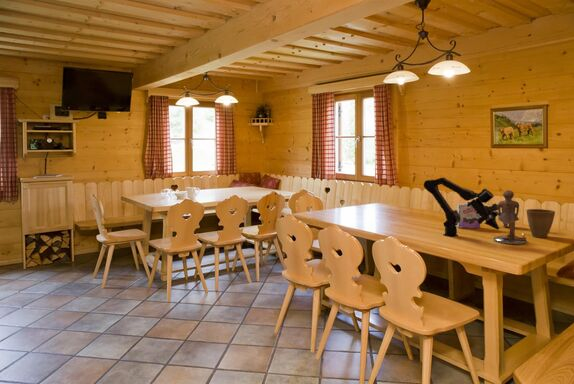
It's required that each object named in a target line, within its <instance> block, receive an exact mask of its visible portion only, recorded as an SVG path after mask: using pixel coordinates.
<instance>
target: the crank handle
mask: <svg viewBox="0 0 574 384" xmlns="http://www.w3.org/2000/svg"><path fill="white" fill-rule="evenodd" d="M515 234H516V221H510V227H509V234H502V235H500V236H501V238H502V239H506V240H510V241H514V240H518V239H520V240H527V237H526V236H525V237H523V236H518V235H515Z"/></svg>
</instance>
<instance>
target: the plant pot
mask: <svg viewBox="0 0 574 384" xmlns="http://www.w3.org/2000/svg"><path fill="white" fill-rule="evenodd" d="M555 214H556V211H555V210H551V209H544V208H543V209H540V208H539V209H538V208H531V209H526V216H527V222H528V227H529V230H530V233H531V235H532V237H534V238H539V239H544V238H547V237H548V235H549V233H550V231H551V228H552V225H553V222H554V219H555Z"/></svg>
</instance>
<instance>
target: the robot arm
mask: <svg viewBox="0 0 574 384" xmlns="http://www.w3.org/2000/svg"><path fill="white" fill-rule="evenodd" d="M440 185H442V186H444V187H445V188H447V189H449V190H451V191H453V192H454V193H456V194H457V195H459V197H460V198H462V200H464V201H467V203H466V204H467V207H469V206H472V207H473V208H474V209H475V210H476V214H479V215H480V218H479V219H478V220H477V222H478V223H479V224H480V225H481V224H483V222H484V221H485V222H484V224H485V225H487V226H490V227H492V228H493V229H494V230H495V229H496V230H499V229H500V227H499V224H498V222H497V220H496V218H497V217H498V215H499V212H498V210H500V211H501V208H500V209H499V206H498V203H493V204H492V205H491V206H488V205H485V204H487V203H488V202H490V201H491V199H494V194H493V193H492V192H491V191H490V190H489V189H487V188H484V189H482V191H480V192H479V193H478V192H475V191H473V190H471V189H468V188H465V187H461V186H460V185H458V184H457V183H454V182H453V181H451V180H449V179H447V177H442V176H441V177H440V178H436V179H428V180H425V181H424V183H423V187H424V189H425V190H427V192H428V193H430V194H431V195H432V197H434V199H435V201H436V202H437V203H438V205H439V206H440V207H441V209H442V211H443V212H444V215H445V219H446V221H443V224H442V225H443V227H444V234H443V235H442V236H446V237H450V238H451V237H452V238H453V237H459V235H458V232H457V231H458V229H457V224H458V223H459V222H460V220H461V217H460V215H459V214H458V212H457V210H456V209H455V210H453V209H452V208H451V206H450V205H449V203H448V201H446V198H445V197H444V196H443V194H442V193H441V192H440V190H439V186H440Z"/></svg>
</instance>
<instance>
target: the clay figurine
mask: <svg viewBox="0 0 574 384" xmlns="http://www.w3.org/2000/svg"><path fill="white" fill-rule="evenodd" d="M502 195H503V197H504V199H505V200H501V201H499V202H498V203H497V204H498V206H499V209H500V210H497V212H498V213H499V215H497V217H498V218H497V219H498V221H499V222H502V224H503V227H504V228H507V227H508V228H510V221H515V222H516V221H519V220H520V218H519V217H518V216H519V212H520V204H519V202H518V201H515V200H513V197H514V195H515V193H514V191H512V190H509V189H508V190H505V191H504V192H503V193H502Z"/></svg>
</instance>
